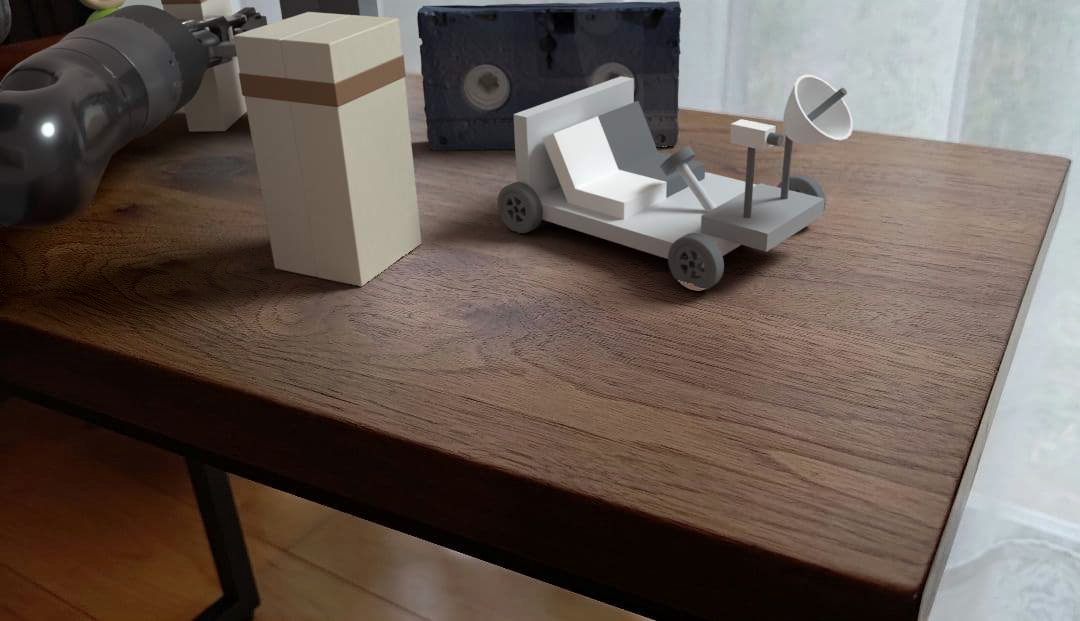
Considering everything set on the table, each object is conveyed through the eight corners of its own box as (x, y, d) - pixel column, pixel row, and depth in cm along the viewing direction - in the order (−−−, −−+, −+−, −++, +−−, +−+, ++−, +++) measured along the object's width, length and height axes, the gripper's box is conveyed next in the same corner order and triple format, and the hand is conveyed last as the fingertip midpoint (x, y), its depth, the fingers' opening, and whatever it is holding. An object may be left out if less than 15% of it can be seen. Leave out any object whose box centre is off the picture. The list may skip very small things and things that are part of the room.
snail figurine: (71, 67, 100) (39, -59, 95) (128, 53, 105) (100, -68, 99) (101, 74, 97) (70, -56, 92) (158, 59, 102) (132, -65, 96)
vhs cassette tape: (677, 137, 74) (681, -1, 69) (678, 150, 71) (682, 7, 67) (434, 137, 76) (422, 3, 71) (426, 150, 73) (413, 12, 69)
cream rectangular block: (188, 132, 79) (152, -39, 73) (214, 109, 85) (183, -51, 79) (225, 131, 79) (193, -40, 73) (250, 109, 85) (221, -52, 79)
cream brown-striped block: (273, 269, 56) (231, 35, 50) (338, 229, 61) (307, 11, 55) (361, 287, 53) (329, 44, 47) (423, 244, 58) (400, 17, 52)
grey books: (299, 130, 79) (270, -57, 72) (318, 107, 84) (293, -68, 78) (373, 128, 78) (351, -59, 72) (388, 106, 84) (369, -70, 77)
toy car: (888, 66, 52) (774, 121, 45) (866, 238, 57) (759, 314, 49) (616, 26, 63) (488, 65, 55) (616, 173, 68) (498, 227, 60)
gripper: (219, 14, 64) (293, -30, 78) (3, 20, 65) (117, -25, 80) (240, 128, 67) (307, 65, 82) (35, 131, 68) (138, 68, 83)
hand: (213, 21), depth 81 cm, fingers open, 6 cm apart
